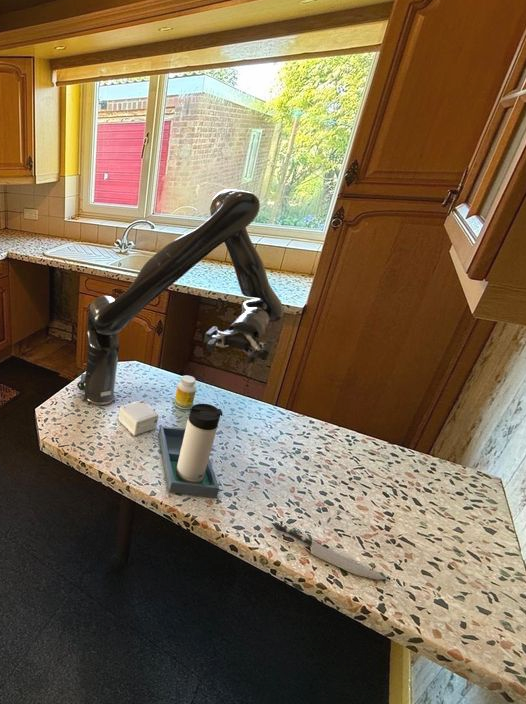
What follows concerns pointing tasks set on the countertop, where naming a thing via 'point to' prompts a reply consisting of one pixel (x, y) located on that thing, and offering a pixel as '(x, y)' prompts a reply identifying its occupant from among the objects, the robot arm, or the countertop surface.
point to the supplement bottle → (185, 392)
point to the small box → (138, 417)
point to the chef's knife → (333, 556)
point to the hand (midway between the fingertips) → (229, 354)
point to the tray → (171, 452)
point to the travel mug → (197, 442)
